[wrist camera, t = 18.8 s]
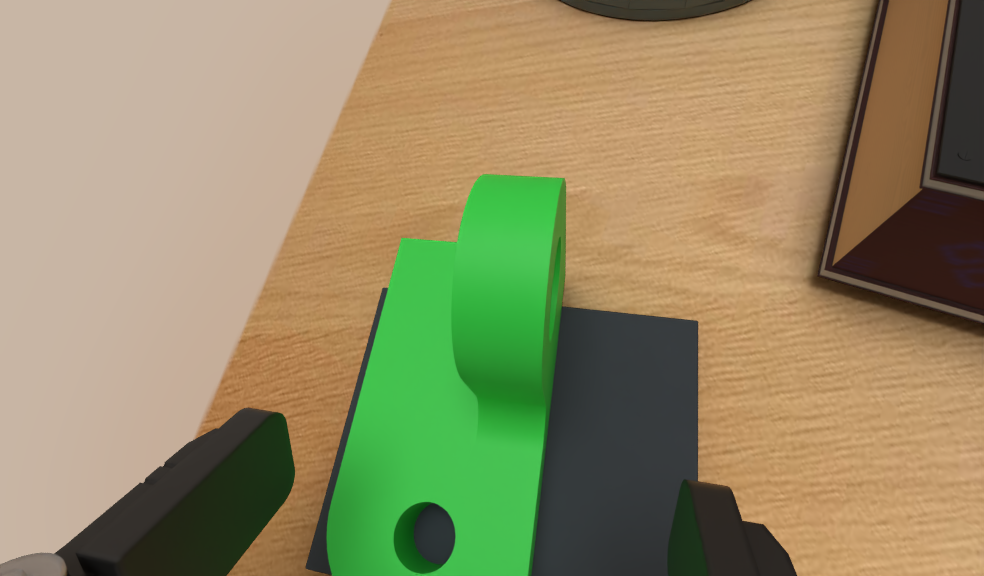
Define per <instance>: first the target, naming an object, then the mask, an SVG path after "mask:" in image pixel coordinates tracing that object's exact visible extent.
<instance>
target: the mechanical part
mask: <svg viewBox="0 0 984 576" xmlns="http://www.w3.org/2000/svg"><path fill="white" fill-rule="evenodd" d="M565 253H566V182H565V179H564V178H550V177H530V176H511V175H491V174H484V175H482V176H480V177H479V178H478V179H477V181H476V182H475V184H474V186H473V188H472V190H471V192H470V195H469V197H468V200H467V203H466V206H465V210H464V213H463V217H462V221H461V225H460V230H459V235H458V241H457V242H446V241H434V240H421V239H409V238H402V239H401V242H400V246H399V250H398V254H397V257H396V261H395V265H394V269H393V272H392V276H391V280H390V284H389V287H388V291H387V295H386V299H385V302H384V306H383V310H382V314H381V317H380V321H379V325H378V329H377V332H376V336H375V340H374V344H373V347H372V351H371V355H370V359H369V362H368V366H367V370H366V374H365V377H364V381H363V385H362V389H361V392H360V396H359V400H358V404H357V407H356V411H355V415H354V419H353V422H352V426H351V430H350V434H349V438H348V441H347V445H346V449H345V453H344V456H343V460H342V464H341V468H340V471H339V475H338V479H337V483H336V486H335V490H334V494H333V498H332V501H331V506H330V510H329V515H328V523H327V552H328V559H329V565H330V569H331V573H332V576H531V573H532V564H533V555H534V547H535V538H536V529H537V520H538V511H539V503H540V494H541V485H542V476H543V467H544V459H545V450H546V441H547V432H548V423H549V415H550V406H551V397H552V388H553V379H554V370H555V362H556V353H557V344H558V335H559V326H560V318H561V309H562V300H563V291H564V282H565ZM431 503H435V504H438V505H440V506H441V507H443V508H444V509H445V510H446V511H447V512H448V514H449V515H450V517H451V518H452V521H453V523H454V527H455V533H456V539H455V546H454V549H453V552H452V554H451V556H450V558H449V559H448V561H447V562H446V563H445V564H435V563H431V562H429V561H427V560H426V559H425V558H424V557H422V555H421V554H420V553H419V551H418V550H417V548H416V545H415V542H414V526H415V522H416V520H417V518H418V516H419V514H420V513H421V511H422V510H423V509H424V508H425V507H427V506H428V505H430V504H431Z"/></svg>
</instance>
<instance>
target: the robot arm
mask: <svg viewBox="0 0 984 576" xmlns="http://www.w3.org/2000/svg"><path fill="white" fill-rule="evenodd" d="M294 478H295V467H294V461H293V456H292V450H291V445H290V439H289V433H288V428H287V422H286V419H285V417H284V416H283V414H281V413H278V412H271V411H265V410H259V409H253V408H244V409H242V410H240V411H239V412H237V413H236V414H235V415H234V416H233V417H232V418H230V419H229V420H228V421H227V422H226V423H225V424H223V425H222V426H221V427H220V428H219V429H214V430H212V431H210V432H208V433H206V434H204V435H202V436H200V437H199V438H197V439H195V440H193V441H191V442H189V443H187V444H186V445H185V446H184V447H183V448H181V449H180V450H179V451H178V452H177V453H175V454H174V455H173V456H172V457H171V458H169V459H168V460H167V461H166V462H165V464H164V466H163V467H161V466H160V467H159V468H157V469H156V470H155V471H154V472H153V473H151V474H150V475H149V476H148V477H147V478H146V479H145V482H144V483H139V484H138V485H137V486H136V487H135V488H133V489H132V490H131V491H130V492H129V493H127V494H126V495H125V496H124V497H123V498H121V499H120V500H119V501H118V502H117V503H115V504H114V505H113V506H112V507H111V508H109V509H108V510H107V511H106V512H105V513H103V514H102V515H101V516H100V517H99V518H97V519H96V520H95V521H94V522H93V523H91V524H90V525H89V526H88V527H87V528H85V529H84V530H83V531H82V532H81V533H79V534H78V535H77V536H76V537H75V538H73V539H72V540H71V541H70V542H69V543H67V544H66V545H65V546H64V547H62V548H61V549H60V550H59V551H57V552H56V553H55V554H52V553H36V554H30V555H26V556H22V557H19V558H16V559H13V560H10V561H8V562H5V563H3V564H1V565H0V576H227V574H228V573H229V572H230V570H231V569H232V568H233V567H234V565H235V564H236V563H237V562H238V560H239V559H240V558H241V556H242V555H243V554H244V553H245V551H246V550H247V549H248V548H249V546H250V545H251V544H252V542H253V541H254V540H255V539H256V537H257V536H258V535H259V534H260V532H261V531H262V530H263V528H264V527H265V526H266V525H267V523H268V522H269V521H270V520H271V518H272V517H273V516H274V514H275V513H276V512H277V511H278V509H279V508H280V507H281V506H282V504H283V503H284V502H285V500H286V499H287V497H288V495H289V493H290V491H291V489H292V486H293V483H294ZM667 568H668V576H797V574H796V572H795V569H794V567H793V564H792V562H791V559H790V557H789V555H788V553H787V552H786V551H785V550H784V548H783V547H782V546H781V545H780V544H779V542H778V541H777V540H776V539H775V538H774V536H773V535H772V534H771V533H770V532H769V530H768V529H767V528H766V527H765V526H764V525H763V524H758V523H752V522H746V521H742V518H741V515H740V512H739V509H738V506H737V503H736V500H735V497H734V495H733V492H732V490H731V489H730V487H728V486H723V485H717V484H711V483H705V482H698V481H692V480H686V479H684V480H683V481H682V483H681V486H680V490H679V495H678V500H677V504H676V509H675V514H674V518H673V523H672V528H671V532H670V537H669V543H668V554H667Z"/></svg>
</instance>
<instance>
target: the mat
mask: <svg viewBox="0 0 984 576" xmlns="http://www.w3.org/2000/svg"><path fill="white" fill-rule="evenodd" d="M387 291H388V288H383V289H382V293H381V296H380V300H379V304H378V307H377V311H376V314H375V318H374V322H373V325H372V329H371V333H370V336H369V340H368V343H367V347H366V351H365V354H364V358H363V361H362V365H361V369H360V372H359V376H358V380H357V383H356V387H355V390H354V394H353V398H352V401H351V405H350V409H349V412H348V416H347V419H346V423H345V427H344V430H343V434H342V437H341V441H340V445H339V448H338V452H337V456H336V459H335V463H334V466H333V470H332V474H331V477H330V481H329V484H328V488H327V492H326V495H325V499H324V503H323V506H322V510H321V513H320V517H319V521H318V524H317V528H316V532H315V535H314V539H313V542H312V546H311V550H310V553H309V557H308V560H307V564H306V569H308V570H312V571H317V572H321V573H325V574H330V575H332V573H331V569H330V565H329V559H328V552H327V523H328V515H329V510H330V506H331V501H332V498H333V494H334V490H335V486H336V483H337V479H338V475H339V471H340V468H341V464H342V460H343V456H344V453H345V449H346V445H347V441H348V438H349V434H350V430H351V426H352V422H353V419H354V415H355V411H356V407H357V404H358V400H359V396H360V392H361V389H362V385H363V381H364V377H365V374H366V370H367V366H368V362H369V359H370V355H371V351H372V347H373V344H374V340H375V336H376V332H377V329H378V325H379V321H380V317H381V314H382V310H383V306H384V302H385V299H386V295H387ZM684 479H686V480H692V481H698V321H693V320H684V319H675V318H665V317H656V316H646V315H637V314H628V313H618V312H609V311H599V310H590V309H580V308H571V307H562V309H561V318H560V326H559V335H558V344H557V353H556V362H555V370H554V379H553V388H552V397H551V406H550V415H549V423H548V432H547V441H546V450H545V459H544V467H543V476H542V485H541V494H540V503H539V511H538V520H537V529H536V538H535V547H534V555H533V564H532V573H531V576H668V568H667V554H668V543H669V537H670V532H671V528H672V523H673V518H674V514H675V509H676V504H677V500H678V495H679V490H680V486H681V483H682V481H683V480H684ZM455 539H456V533H455V527H454V523H453V521H452V518H451V517H450V515H449V514H448V512H447V511H446V510H445V509H444V508H443V507H441V506H440V505H438V504H435V503H431V504H430V505H428V506H427V507H425V508H424V509H423V510H422V511H421V513H420V514H419V516H418V518H417V520H416V522H415V526H414V542H415V545H416V548H417V550H418V551H419V553H420V554H421V555H422V557H424V558H425V559H426V560H427V561H429V562H431V563H435V564H445V563H446V562H447V561H448V559H449V558H450V556H451V554H452V552H453V549H454V546H455Z"/></svg>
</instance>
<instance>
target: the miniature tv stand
mask: <svg viewBox="0 0 984 576" xmlns="http://www.w3.org/2000/svg"><path fill="white" fill-rule="evenodd" d="M817 276H819V277H822V278H826V279H829V280H833V281H836V282H839V283H843V284H846V285H850V286H853V287H857V288H860V289H863V290H867V291H870V292H874V293H877V294H881V295H884V296H887V297H891V298H894V299H898V300H901V301H904V302H908V303H911V304H915V305H918V306H922V307H925V308H928V309H932V310H935V311H939V312H942V313H946V314H949V315H952V316H956V317H959V318H963V319H966V320H970V321H973V322H976V323H980V324H983V325H984V0H879V3H878V7H877V12H876V16H875V21H874V25H873V30H872V34H871V39H870V43H869V47H868V52H867V56H866V61H865V65H864V70H863V74H862V79H861V83H860V88H859V92H858V97H857V101H856V105H855V110H854V114H853V119H852V123H851V128H850V132H849V137H848V141H847V146H846V150H845V155H844V159H843V163H842V168H841V172H840V177H839V181H838V186H837V190H836V195H835V199H834V204H833V208H832V213H831V217H830V222H829V226H828V230H827V235H826V239H825V244H824V248H823V253H822V257H821V262H820V266H819V271H818V275H817Z"/></svg>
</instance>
